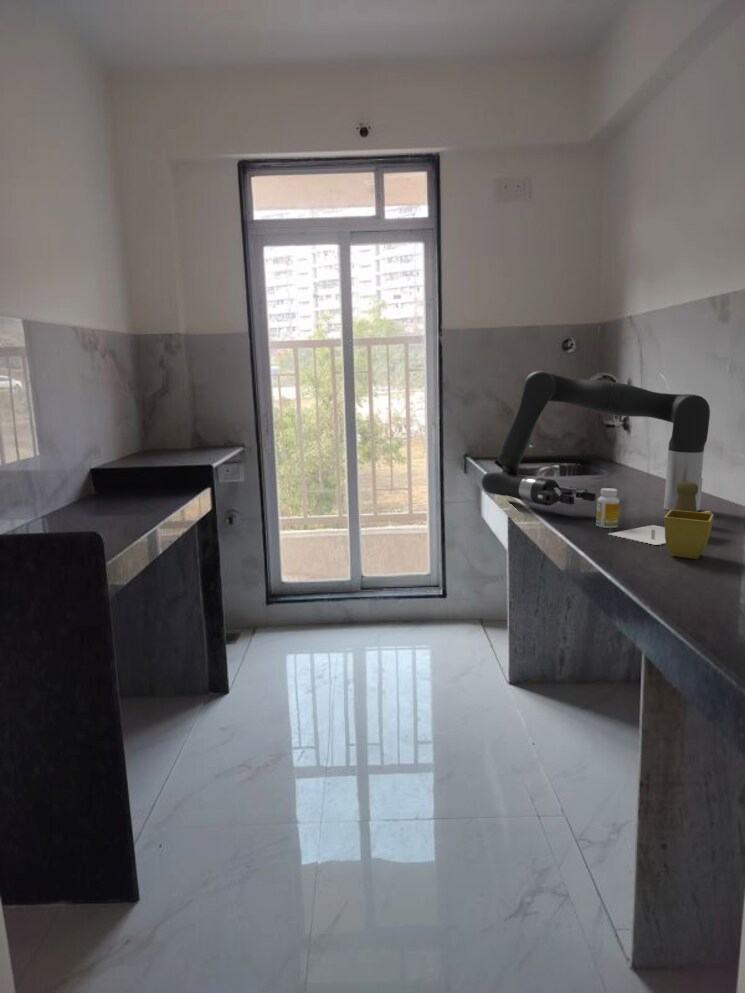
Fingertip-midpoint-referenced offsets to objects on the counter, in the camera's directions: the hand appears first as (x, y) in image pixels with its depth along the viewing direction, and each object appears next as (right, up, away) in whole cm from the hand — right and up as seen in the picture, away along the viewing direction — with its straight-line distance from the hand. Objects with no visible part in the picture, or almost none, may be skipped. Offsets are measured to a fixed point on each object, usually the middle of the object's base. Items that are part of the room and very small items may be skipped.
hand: (584, 499), depth 175 cm
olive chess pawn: (+26, -7, -2) cm, 27 cm away
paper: (+12, -9, -16) cm, 21 cm away
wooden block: (+22, -9, -18) cm, 29 cm away
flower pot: (+11, -12, -34) cm, 38 cm away
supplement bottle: (+4, -7, -5) cm, 10 cm away
